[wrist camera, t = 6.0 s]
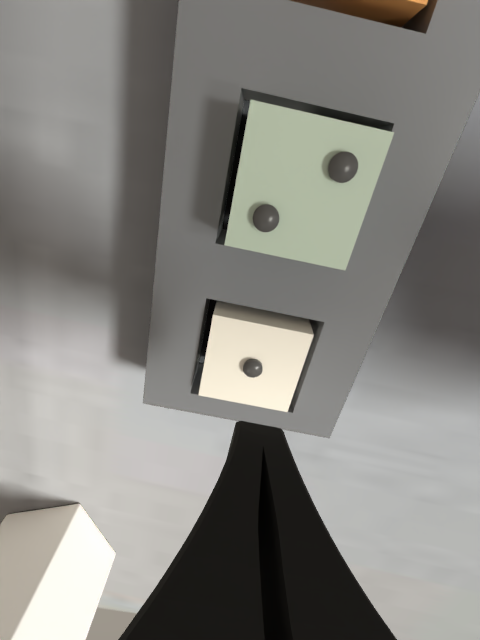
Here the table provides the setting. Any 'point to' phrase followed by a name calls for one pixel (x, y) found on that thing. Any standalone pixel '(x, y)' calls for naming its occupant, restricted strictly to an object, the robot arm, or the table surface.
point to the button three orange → (373, 9)
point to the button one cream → (254, 356)
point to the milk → (51, 573)
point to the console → (217, 163)
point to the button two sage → (304, 184)
